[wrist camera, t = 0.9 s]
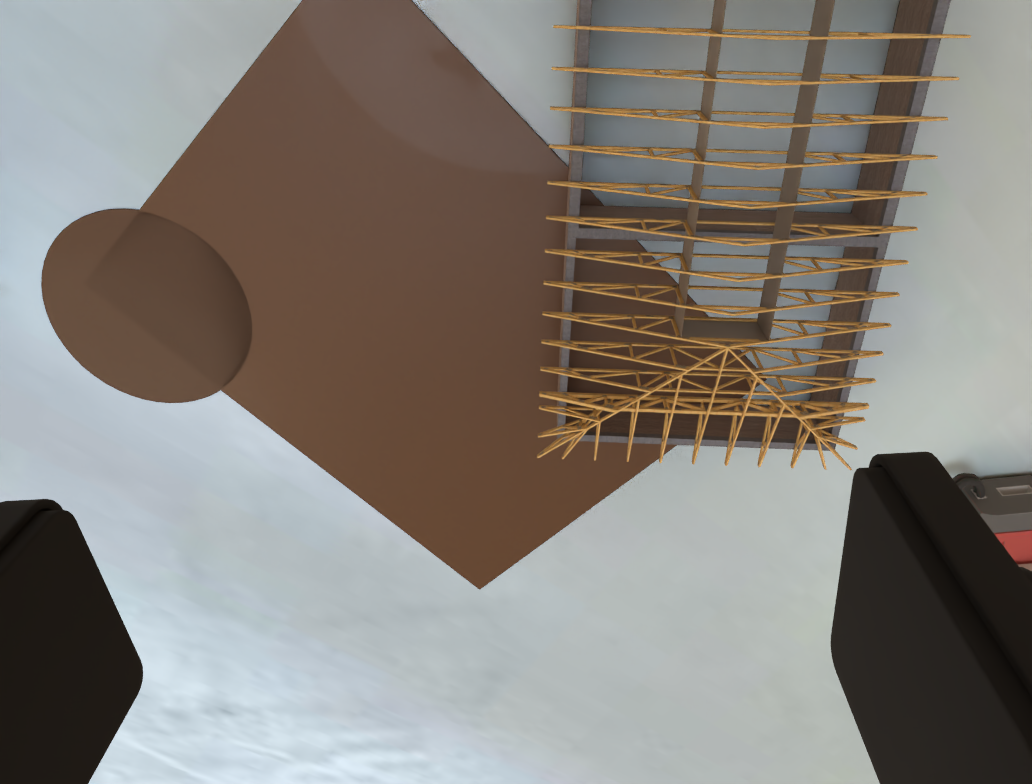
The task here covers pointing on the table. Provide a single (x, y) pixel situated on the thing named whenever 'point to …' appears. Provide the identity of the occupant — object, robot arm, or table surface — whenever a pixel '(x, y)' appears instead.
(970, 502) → the robot arm
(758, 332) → the rafter model
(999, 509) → the walkie-talkie
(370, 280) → the brown flat board
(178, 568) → the table surface
